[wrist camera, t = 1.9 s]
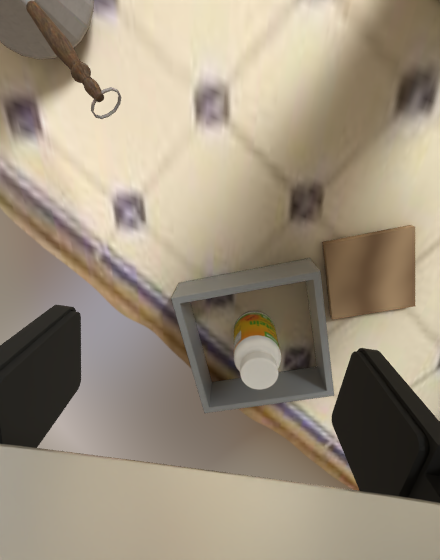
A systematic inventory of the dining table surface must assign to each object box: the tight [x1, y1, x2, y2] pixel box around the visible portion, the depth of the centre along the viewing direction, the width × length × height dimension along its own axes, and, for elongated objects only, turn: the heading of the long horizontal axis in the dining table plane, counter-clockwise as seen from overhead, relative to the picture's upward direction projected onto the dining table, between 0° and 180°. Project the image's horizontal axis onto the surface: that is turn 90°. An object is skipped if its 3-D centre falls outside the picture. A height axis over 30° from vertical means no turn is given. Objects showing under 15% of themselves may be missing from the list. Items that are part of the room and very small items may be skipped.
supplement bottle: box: [234, 312, 281, 389], centre depth 36 cm, size 5×5×10 cm
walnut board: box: [322, 225, 415, 320], centre depth 37 cm, size 10×10×1 cm
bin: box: [171, 258, 334, 413], centre depth 39 cm, size 17×17×5 cm
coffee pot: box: [0, 0, 121, 119], centre depth 24 cm, size 21×12×15 cm, turn 41°
